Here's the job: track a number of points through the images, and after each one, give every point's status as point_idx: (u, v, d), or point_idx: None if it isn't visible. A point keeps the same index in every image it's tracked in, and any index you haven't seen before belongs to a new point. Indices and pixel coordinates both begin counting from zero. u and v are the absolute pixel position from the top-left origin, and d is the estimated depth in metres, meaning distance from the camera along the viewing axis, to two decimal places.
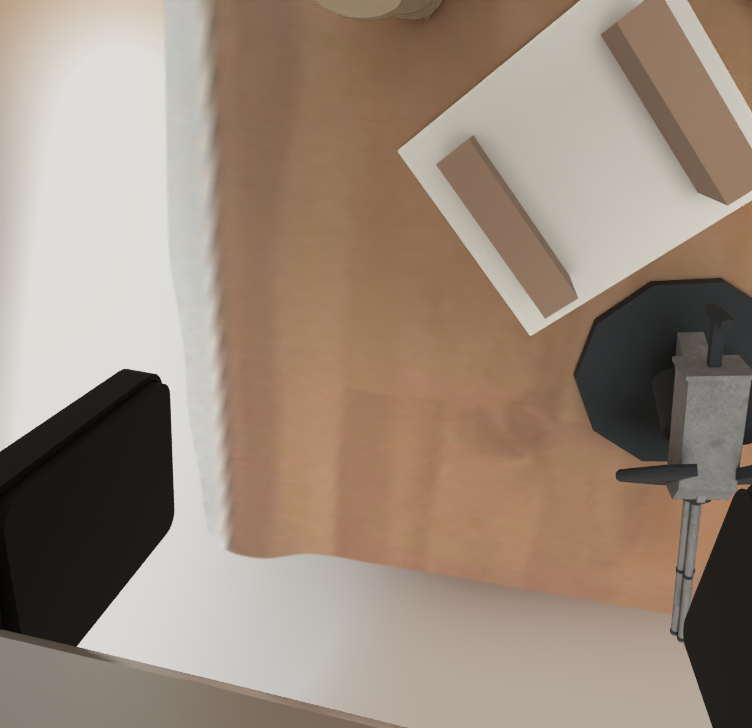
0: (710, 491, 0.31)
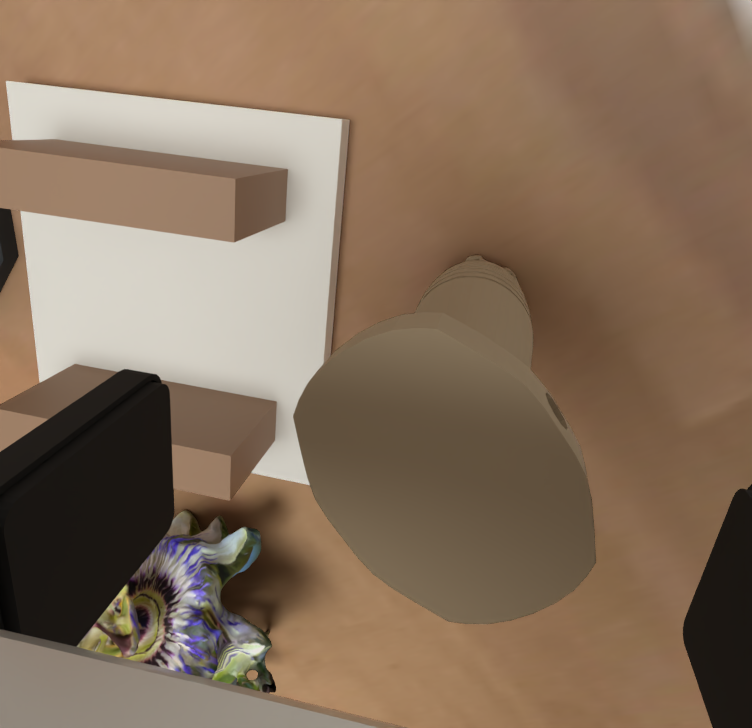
0: None
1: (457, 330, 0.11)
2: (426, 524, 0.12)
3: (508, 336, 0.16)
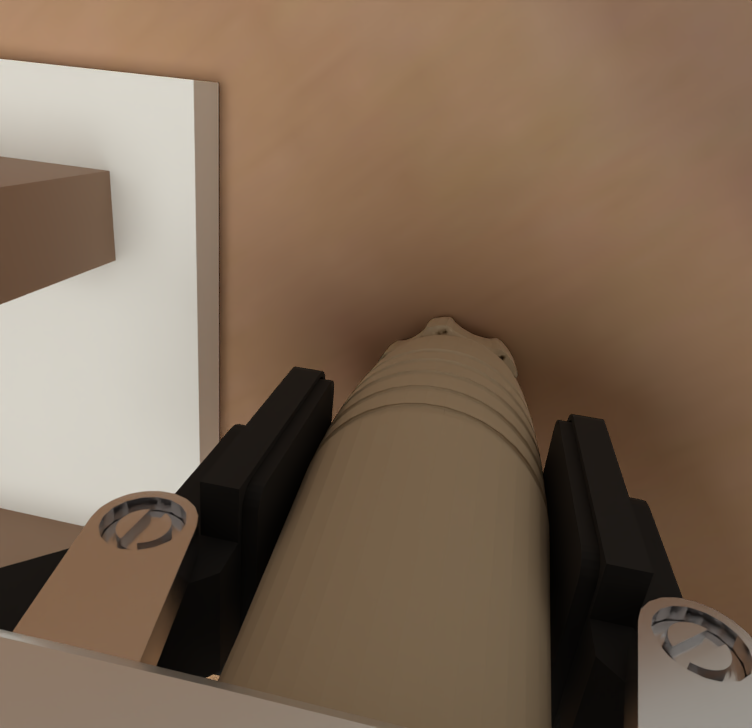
0: None
1: None
2: None
3: (493, 663, 0.06)
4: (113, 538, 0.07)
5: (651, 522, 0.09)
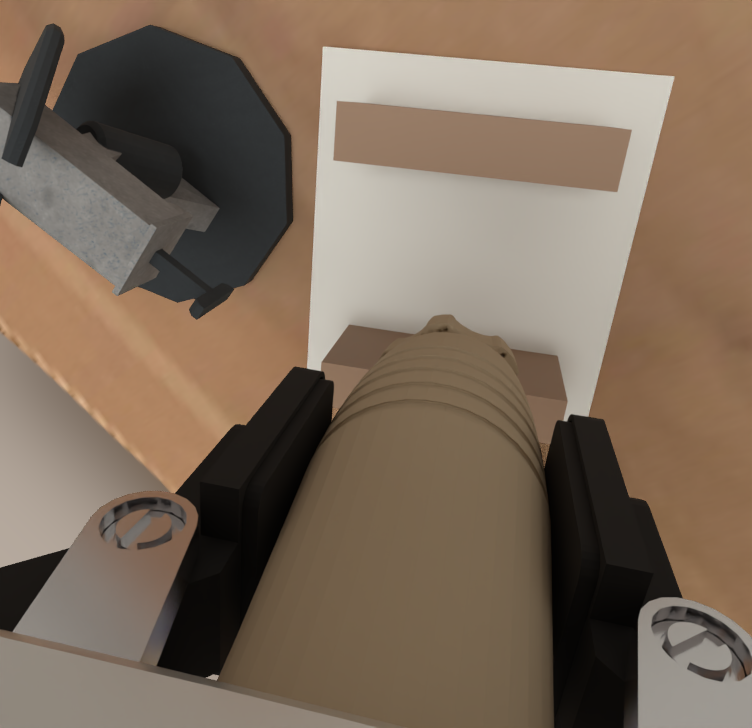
0: None
1: None
2: None
3: (496, 660, 0.06)
4: (113, 538, 0.07)
5: (651, 522, 0.09)
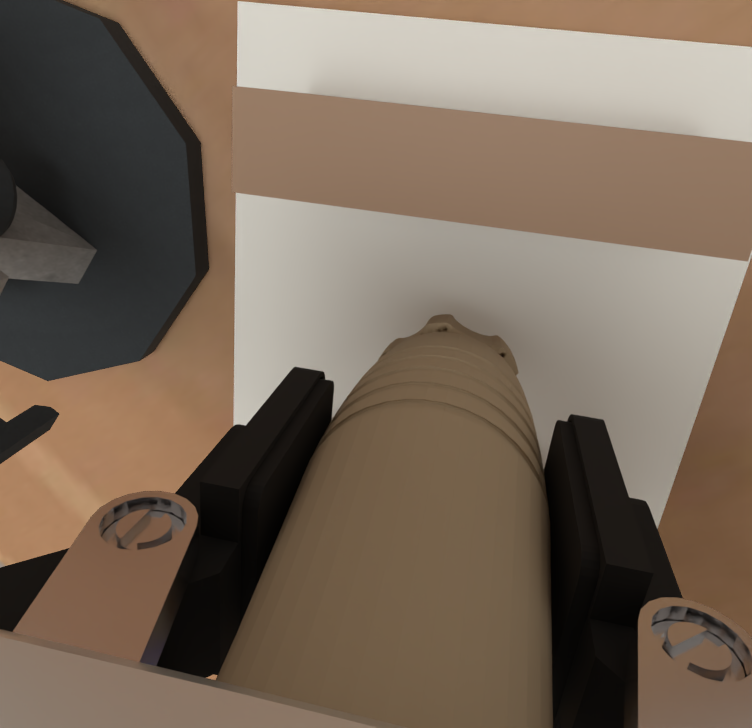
0: None
1: None
2: None
3: (494, 660, 0.06)
4: (113, 538, 0.07)
5: (651, 522, 0.09)
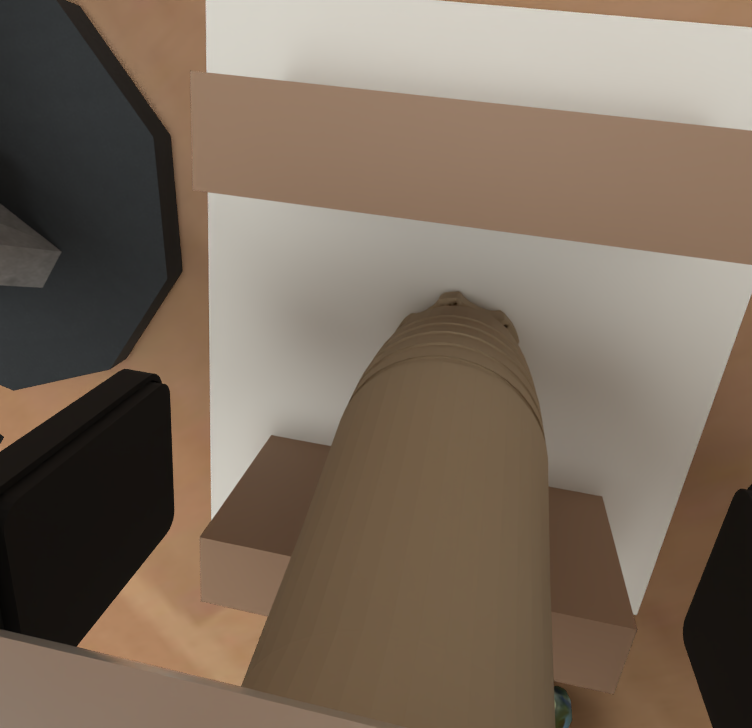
0: None
1: None
2: None
3: (507, 534, 0.07)
4: None
5: None
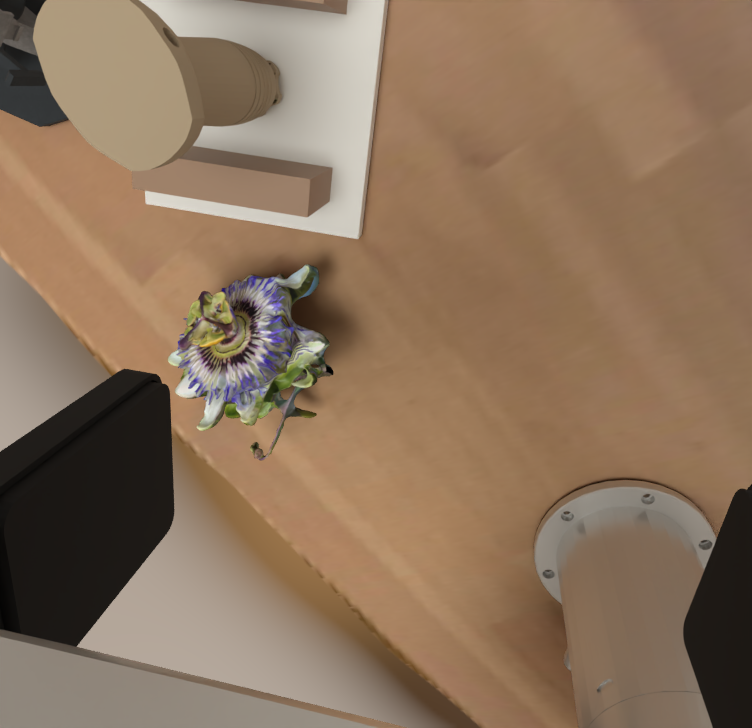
0: None
1: None
2: (109, 104, 0.22)
3: (202, 47, 0.26)
4: None
5: None
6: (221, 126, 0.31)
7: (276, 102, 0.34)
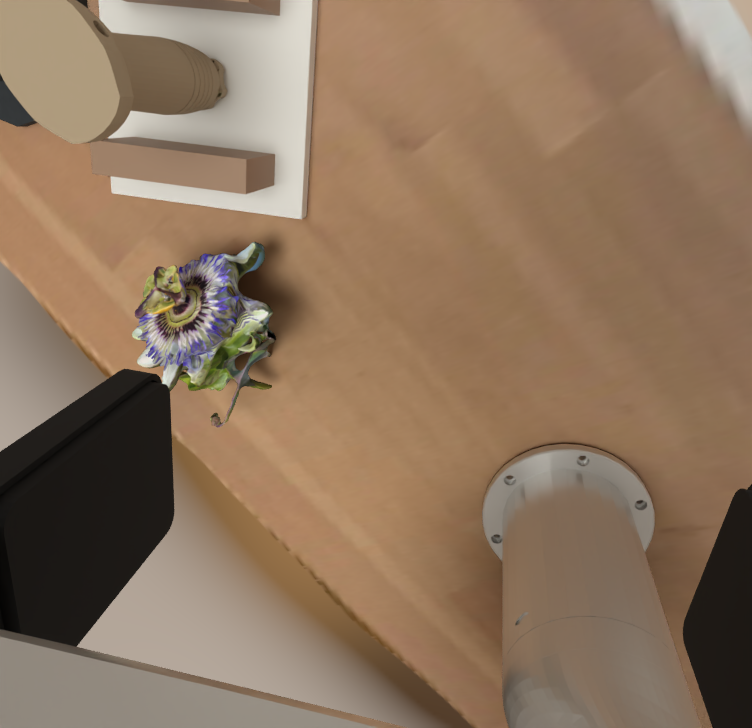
0: None
1: None
2: (50, 86, 0.26)
3: (139, 42, 0.30)
4: None
5: None
6: (166, 114, 0.35)
7: (221, 95, 0.39)
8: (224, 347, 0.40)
